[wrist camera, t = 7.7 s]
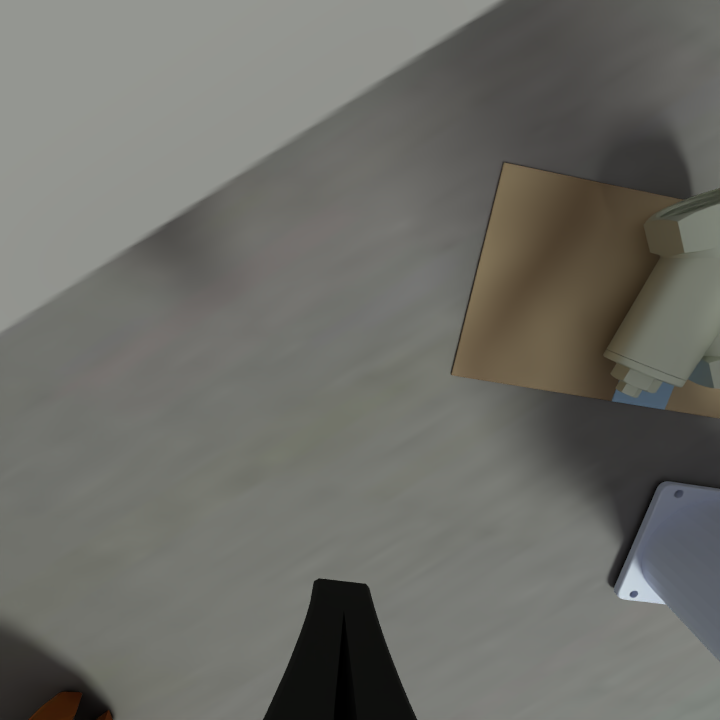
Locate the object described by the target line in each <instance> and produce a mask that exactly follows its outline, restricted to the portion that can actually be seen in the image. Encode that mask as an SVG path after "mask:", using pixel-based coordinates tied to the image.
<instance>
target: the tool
mask: <svg viewBox="0 0 720 720" xmlns="http://www.w3.org/2000/svg"><path fill="white" fill-rule="evenodd" d="M81 696H82V693H81V692H60V693H58V694H57V695H56V696H55V697H53V698H52V699H51V700H49V701H48V702H47V703H45V704H44V705H43V706H42V707H40V708H39V709H38V710H37V711H36V712H35V713H34V714H33V715H32V716H31V717H30V718H29V719H28V720H73V718H74V716H75V714H76V711H77V708H78V705H79V702H80V699H81ZM96 720H113V719H112V717H111V714H110V711H109V710H108V711H106V712H105V713H104V714H102V715H101V716H100V717H99V718H97V719H96Z"/></svg>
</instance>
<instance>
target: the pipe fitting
mask: <svg viewBox="0 0 720 720" xmlns="http://www.w3.org/2000/svg"><path fill="white" fill-rule="evenodd" d="M643 226H644V230H645V234H646V238H647V242H648V246H649V250H650V253H654V254H657V255H660V259H659V260H658V262H657V264H656V265H655V267H654V269H653V271H652V272H651V274H650V276H649V277H648V279H647V281H646V282H645V284H644V286H643V288H642V289H641V291H640V293H639V294H638V296H637V298H636V300H635V301H634V303H633V305H632V306H631V308H630V310H629V311H628V313H627V315H626V317H625V318H624V320H623V322H622V323H621V325H620V327H619V328H618V330H617V332H616V333H615V335H614V337H613V339H612V340H611V342H610V344H609V345H608V347H607V349H606V350H605V352H604V354H603V356H604V357H606V358H608V359H610V360H612V361H614V362H616V365H615V367H614V368H613V370H612V372H611V373H610V374H611V375H612V376H613V377H614V378H616V379H618V380H620V381H619V383H618V384H617V386H616V389H617V390H618V391H620V392H622V393H624V394H626V395H629V396H631V397H634V398H638V396H639V395H640V393H641V392H642V390H643V391H646V392H649V393H656V392H657V390H658V389H659V387H660V386H661V384H662V382H665V383H668V384H671V385H673V386H676V387H683V385H684V384H685V383H686V381H687V380H690V381H692V382H694V383H696V384H699V385H702V386H705V387H709V388H714V389H720V188H718V189H715V190H711V191H708V192H705V193H702V194H699V195H696V196H693V197H691V198H688V199H685V200H683V201H680V202H678V203H675V204H673V205H670V206H668V207H666V208H664V209H662V210H660V211H658V212H656V213H655V214H653V215H652V216H651V217H650V218H649V219H648V220H647V221H646V222H645V223H644V225H643Z"/></svg>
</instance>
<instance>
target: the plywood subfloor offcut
mask: <svg viewBox="0 0 720 720" xmlns="http://www.w3.org/2000/svg"><path fill="white" fill-rule="evenodd" d="M680 201H683V200H682V199H677V198H672V197H667V196H663V195H658V194H653V193H648V192H643V191H639V190H634V189H629V188H624V187H619V186H615V185H610V184H605V183H600V182H595V181H591V180H586V179H581V178H576V177H571V176H567V175H562V174H557V173H552V172H547V171H542V170H538V169H533V168H528V167H523V166H518V165H514V164H509V163H504V164H503V168H502V172H501V176H500V180H499V184H498V188H497V192H496V196H495V200H494V204H493V208H492V212H491V216H490V220H489V224H488V228H487V232H486V236H485V240H484V244H483V248H482V252H481V256H480V260H479V264H478V268H477V272H476V276H475V280H474V284H473V288H472V292H471V297H470V301H469V305H468V309H467V313H466V317H465V321H464V325H463V329H462V333H461V337H460V341H459V345H458V349H457V353H456V357H455V361H454V365H453V369H452V373H451V375H454V376H460V377H466V378H472V379H478V380H485V381H491V382H497V383H503V384H509V385H516V386H522V387H528V388H534V389H540V390H546V391H553V392H559V393H565V394H571V395H577V396H584V397H590V398H596V399H602V400H608V401H613V402H620V403H626V404H632V405H638V406H644V407H650V408H657V409H663V410H670V411H676V412H683V413H689V414H695V415H701V416H707V417H713V418H720V389H714V388H709V387H705V386H702V385H699V384H696V383H694V382H692V381H690V380H687V381H686V383H685V384H684V385H683V387H676V386H673V385H671V384H668V383H665V382H662V384H661V386H660V387H659V389H658V390H657V392H656V393H649V392H646V391H643V390H642V392H641V393H640V395H639V396H638V398H634V397H631V396H629V395H626V394H624V393H622V392H620V391H618V390H617V389H616V386H617V384H618V383H619V381H620V380H618V379H616V378H614V377H613V376H612V375H611V374H610V373H611V372H612V370H613V368H614V367H615V365H616V362H614V361H612V360H610V359H608V358H606V357H604V356H603V354H604V352H605V350H606V349H607V347H608V345H609V344H610V342H611V340H612V339H613V337H614V335H615V333H616V332H617V330H618V328H619V327H620V325H621V323H622V322H623V320H624V318H625V317H626V315H627V313H628V311H629V310H630V308H631V306H632V305H633V303H634V301H635V300H636V298H637V296H638V294H639V293H640V291H641V289H642V288H643V286H644V284H645V282H646V281H647V279H648V277H649V276H650V274H651V272H652V271H653V269H654V267H655V265H656V264H657V262H658V260H659V259H660V255H657V254H654V253H650V250H649V246H648V242H647V238H646V234H645V230H644V226H643V225H644V223H645V222H646V221H647V220H648V219H649V218H650V217H651V216H652V215H653V214H655V213H656V212H658V211H660V210H662V209H664V208H666V207H668V206H670V205H673V204H675V203H678V202H680Z"/></svg>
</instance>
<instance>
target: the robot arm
mask: <svg viewBox="0 0 720 720" xmlns="http://www.w3.org/2000/svg"><path fill="white" fill-rule="evenodd" d="M614 592H615V593H616V595H617V596H618V597H619V598H621V599H626V600H634V601H643V602H651V603H659V604H666V605H667V606H668V607H669V608H670V609H671V610H672V611H673V612H674V613H675V614H676V615H677V616H678V618H679V619H680V620H681V621H682V622H683V623H684V624H685V625H686V626H687V627H688V628H689V629H690V630H691V632H692V633H693V634H694V635H695V636H696V637H697V638H698V639H699V640H700V641H701V642H702V643H703V644H704V646H705V647H706V648H707V649H708V650H709V651H710V652H711V653H712V654H713V655H714V656H715V657H716V658H717V660H718V661H719V662H720V489H718V488H712V487H705V486H698V485H691V484H684V483H677V482H671V481H665V482H662V483H661V484H659V486H658V487H657V489H656V491H655V494H654V496H653V498H652V501H651V503H650V505H649V508H648V510H647V512H646V515H645V517H644V519H643V522H642V524H641V526H640V529H639V531H638V533H637V536H636V538H635V540H634V543H633V545H632V547H631V550H630V552H629V554H628V557H627V559H626V561H625V563H624V566H623V568H622V570H621V573H620V575H619V577H618V580H617V582H616V584H615V587H614ZM263 720H417V718H416V716H415V714H414V712H413V709H412V707H411V705H410V703H409V700H408V698H407V695H406V693H405V691H404V688H403V686H402V683H401V681H400V678H399V676H398V673H397V671H396V668H395V666H394V663H393V660H392V658H391V655H390V653H389V650H388V647H387V644H386V642H385V639H384V636H383V633H382V630H381V627H380V624H379V621H378V618H377V614H376V611H375V608H374V604H373V601H372V597H371V593H370V589H369V587H368V586H367V585H366V584H362V583H354V582H345V581H337V580H328V579H317V580H316V581H314V584H313V589H312V595H311V601H310V605H309V608H308V612H307V615H306V618H305V621H304V624H303V627H302V630H301V633H300V635H299V638H298V641H297V643H296V646H295V648H294V651H293V653H292V656H291V659H290V661H289V664H288V666H287V668H286V671H285V673H284V675H283V678H282V680H281V682H280V684H279V686H278V689H277V691H276V693H275V695H274V697H273V700H272V702H271V704H270V706H269V708H268V711H267V713H266V715H265V717H264V719H263Z"/></svg>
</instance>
